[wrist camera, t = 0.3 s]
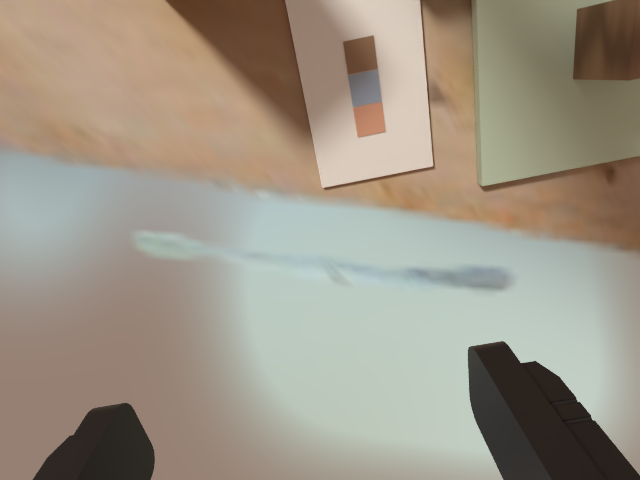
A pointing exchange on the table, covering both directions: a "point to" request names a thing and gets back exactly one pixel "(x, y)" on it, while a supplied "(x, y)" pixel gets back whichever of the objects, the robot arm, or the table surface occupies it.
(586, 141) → the build plate
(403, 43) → the page
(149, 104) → the table surface
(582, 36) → the brick base
